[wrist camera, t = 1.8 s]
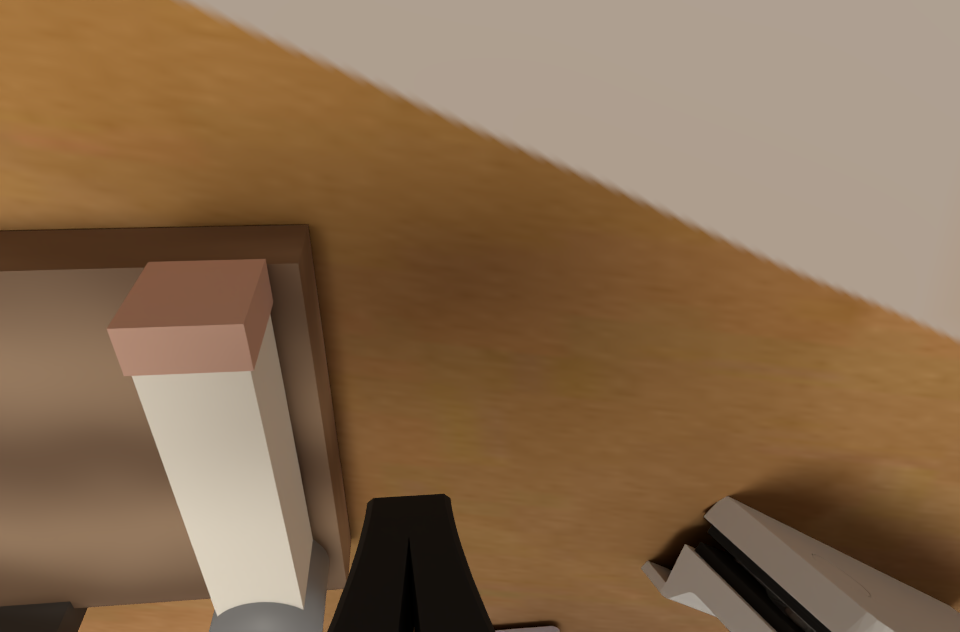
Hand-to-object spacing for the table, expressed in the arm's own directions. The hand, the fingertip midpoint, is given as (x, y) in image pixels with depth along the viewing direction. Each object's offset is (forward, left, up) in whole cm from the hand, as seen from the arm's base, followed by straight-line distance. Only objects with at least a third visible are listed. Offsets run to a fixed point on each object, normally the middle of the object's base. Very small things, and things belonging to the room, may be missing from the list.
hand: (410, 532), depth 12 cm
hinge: (-16, -18, -9) cm, 25 cm away
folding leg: (-4, +5, -6) cm, 9 cm away
